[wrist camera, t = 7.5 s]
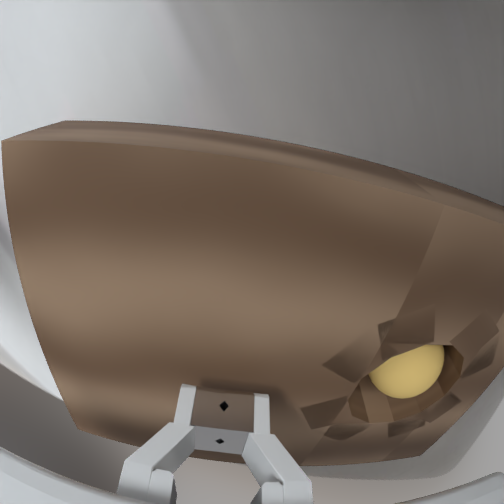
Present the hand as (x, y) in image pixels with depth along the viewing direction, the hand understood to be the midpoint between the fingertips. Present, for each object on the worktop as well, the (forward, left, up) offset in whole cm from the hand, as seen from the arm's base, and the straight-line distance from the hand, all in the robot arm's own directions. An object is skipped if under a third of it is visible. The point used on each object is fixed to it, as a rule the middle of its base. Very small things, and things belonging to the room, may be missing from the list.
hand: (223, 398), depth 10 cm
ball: (0, +9, -3) cm, 9 cm away
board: (0, +3, -5) cm, 6 cm away
